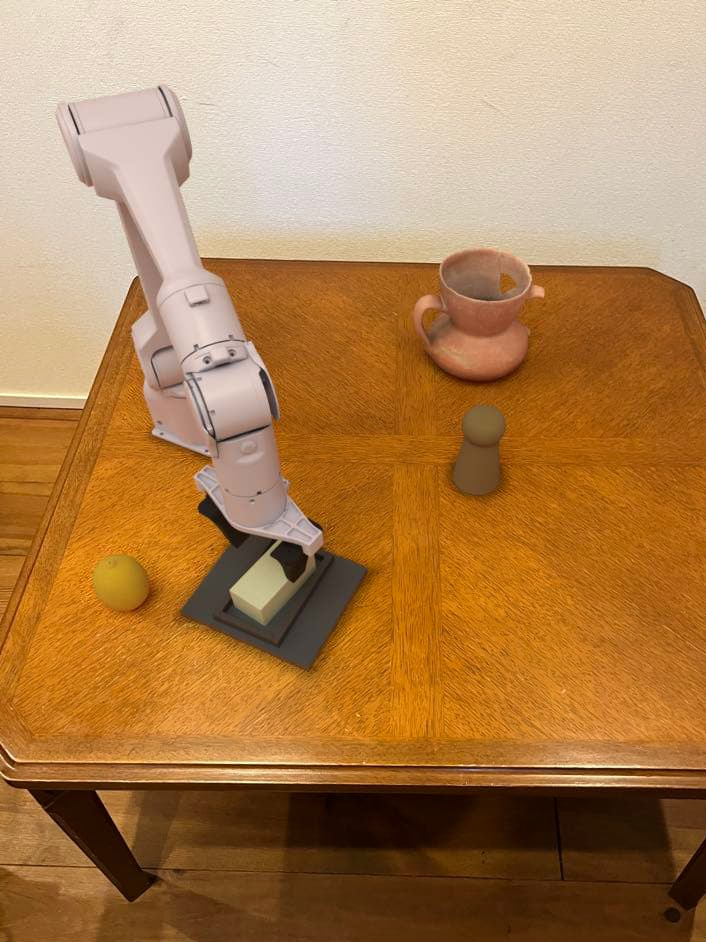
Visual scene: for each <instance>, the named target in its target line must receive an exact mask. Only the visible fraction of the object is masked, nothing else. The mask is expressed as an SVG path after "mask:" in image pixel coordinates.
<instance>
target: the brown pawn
mask: <svg viewBox="0 0 706 942" xmlns="http://www.w3.org/2000/svg"><path fill="white" fill-rule="evenodd" d="M506 430H507V421H506V418H505V416H504V414H503V412H502V411H500V409H498V408H497V407H495V406H494V405H489V404H477V405H475V406H472V407H470V409H468V410H467V411H466V412H465V413H464V416H463V418H462V420H461V431H462V434H463V440H462V443H461V446H460V449H459V452H458V455H457V459H456V462H455V466H454V468H453V472H452V481H453V483H454V485H455V486H456V487H457V489H459V490H460V491H462V492H463V493H465V494H468V495H472V496H484V495H488V494H490V493H492V492H494V491H495V490H496V489H497V488H498V486H499V484H500V481H501V480H500V479H501V478H500V477H501V476H500V475H501V473H500V470H501V469H500V466H501V465H500V463H501V462H500V441H501V440H502V439H503V437H504V435H505V433H506Z"/></svg>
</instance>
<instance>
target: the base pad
mask: <svg viewBox="0 0 706 942" xmlns="http://www.w3.org/2000/svg"><path fill="white" fill-rule="evenodd" d="M277 541H278V540H277V539H273V538H268V537H263V536H259V535H254V534H250V537H249V538H248V539H247V540H246V541H245V542H244V543H243V544H242V545H241V546H240V547H239V548H238V549H237V548H235V547H234V546H232V545H231V544H230V543H229V545H228V546H227V547H226V549H225V550H224V552H223V553H222V554H221V555H220V557H219V558H218V560H217V561H216V562H215V564H214V565H213V567H212V568H211V569H210V571H209V572H208V573H207V574H206V576H205V577H204V578H203V580H202V581H201V582H200V584H199V585H198V587H197V588H196V589H195V591H193V593H192V595H191V596H190V598H189V599H188V600H187V601H186V603H185V604H184V606H182V608H181V610H180V611H179V612H180V613H181V616H182V617H183V618H187V619H189V620H191V621H194V622H196V623H198V624H200V625H203V626H204V627H206V628H209V629H211V630H214V631H215V632H218V633H221V634H223V635H225V636H227V637H230V638H231V639H234V640H236V641H239V642H241V643H243V644H246V645H247V646H249V647H251V648H254V649H256V650H259V651H261V652H263V653H265V654H268V655H270V656H272V657H274V658H276V659H279V660H281V661H282V662H285V663H288V664H290V665H292V666H294V667H296V668H299V669H301V670H303V671H306V672H307V673H309V672H310V671H311V669H312V667H313V666H314V664H315V662H316V660H317V659H318V657H319V656H320V654H321V652H322V651H323V648H324V647H325V645H326V644H327V642H328V640H329V638H330V637H331V635H332V633H333V632H334V630H335V628H336V626H337V625H338V624H339V621H340V620H341V618H342V616H343V615H344V613H345V612H346V610H347V608H348V606H349V605H350V603H351V601H352V599H353V598H354V596H355V595H356V593H357V591H358V589H359V588H360V587H361V584H362V583H363V581H364V579H365V578H366V576H367V574H368V572H369V571H368V567H367V566H365V565H362V564H359V563H357V562H354V561H352V560H349V559H347V558H345V557H342V556H339V555H337V554H335V553H332V552H330V551H327V550H324V549H323V548H321V547H320V548H319V549H318V550H317V552H316V553H315V554H314V558H315V565H316V571H315V572H314V573H313V574H312V575H311V576H310V577H309V579H308V580H307V581H306V582H305V583H304V584H303V585H302V586H301V587H300V588H299V590H298V591H297V592H296V593H295V594H294V595H293V596H292V597H291V598H290V600H289V601H288V602H287V603H286V604H285V605H284V606H283V607H282V608H281V609H280V611H279V612H278V613H277V614H276V615H275V616H274V617H273V618H272V619H271V620H270V622H269V623H268V624H267V625H266V626H264V625H262V624H260V623H259V622H257V621H256V620H254V619H253V618H251V617H250V616H248V615H247V614H245V613H244V612H242V611H241V610H239V609H237V608H236V607H235V606H234V603H233V600H232V597H231V594H230V591H229V590H230V589H231V588H232V587H233V586H234V585H235V584H236V583H237V582H238V581H239V580H240V579H241V578H242V577H243V576H244V575H245V574H246V572H247V571H248V570H249V569H250V568H251V567H252V566H253V565H254V564H255V563H256V562H257V561H258V560H259V559H260V558H261V557H262V556H263V555H264V554H265V553H266V552H267V551H268V550H269V549H270V548H271V547H272V546H273V545H274V544H275V543H276V542H277Z"/></svg>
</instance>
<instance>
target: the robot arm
mask: <svg viewBox="0 0 706 942" xmlns="http://www.w3.org/2000/svg"><path fill="white" fill-rule="evenodd" d="M54 113H55V114H54V115H55V119H56V121H57V124H58V128H59V130H60V134H61V137H62V139H63V141H64V142H63V143H64V145H65V147H66V150H67V153H68V156H69V158H70V161H71V163H72V166H73V169H74V171H75V174H76V176H77V179H78V181H79V182H80V183H82V184H84V185H85V186H86V187H87V188H92V187H93V189H94V192H95V194H96V196H97V197H99V198H103V199H107V200H111V201H114V202H115V206H116V209H117V213H118V216H119V219H120V221H121V225H122V228H123V231H124V234H125V238H126V241H127V245H128V247H129V250H130V254H131V257H132V260H133V263H134V266H135V269H136V273H137V276H138V279H139V282H140V285H141V289H142V292H143V295H144V298H145V302H146V305H147V308H148V309H147V310H146V311H145V312H144V313H143V314H142V315H141V316H140V317H139V318H138V319H137V320H136V321H135V322H134V323H133V324H132V325H131V332H130V336H131V338H132V341H133V347H134V350H135V353H136V354H135V355H136V357H137V359H138V362H139V365H140V368H141V370H142V373H143V375H144V381H143V388H142V392H143V393H142V394H143V397H144V400H145V403H146V406H147V408H148V411H149V415H150V417H151V419H152V423H153V425H154V428H152V431H151V434H152V436H153V437H156V438H159V439H161V440H164V441H165V442H166V441H167V442H170V443H172V444H173V445H177V446H179V447H182V448H185V449H188V450H190V451H193V452H195V453H198V454H201V455H203V456H206V457H208V458H210V459H211V461H212V462H211V463H212V465H213V466H211V465H209V464H205V466H204V467H203V468H201V469H200V470H199V471H198V472H197V473H196V474H195V475H193V480H194V483H195V486H196V489H197V491H199V492H201V493H202V494H205V495H204V498H203V500H201V501H200V502H199V503H198V504H197V511H198V513H199V514H200V515H202V516H204V517H205V518H207V519H208V520H210V521H211V522H212V523H213V524H214V525H215V526H216V527H217V528H218V530H219V531H220V532H221V533H222V534H223V536H224V537H225V538H226V540H227V541H228V543H229V545H230V544H231V545H232V546H234V547H235V548H237V549H238V548H239V547H240V546H241V545H242V544H243V543H244V542H245V541H246V540H247V539H248V538H249V537H250V534H254V535H259V536H263V537H268V538H273V539H277V540H282V542H281V543H280V544H279V545H278V546H277V547H276V548H275V549H274V550H273V551H272V552H271V553H270V556H271V557H272V558H274V559H276V560H277V561H278V562H279V563H280V564H281V566H282V568H283V571H284V574H285V576H286V578H287V579H288V580H289V581H290V582H292V583H295V582H296V581H297V580H298V578H299V577H300V576H301V575H302V574H303V573H304V572H305V570H306V565H307V561H308V558H309V556H310V557H312V556H313V555H314V554H315V553H316V552H317V550H318V549H319V548H320V549H321V547H322V546H323V545H324V544H325V543H324V541H325V540H324V529H323V526H322V525H321V524H320V523H318V522H317V521H315V520H313V519H311V518H310V517H306V514H304V512H303V511H302V510H301V509H300V507H299V506H298V505H297V504H296V503H295V501H294V500H293V499H292V498H291V497H290V495H289V493H287V491H289V489H290V487H291V485H290V481H289V480H288V479H286V478H285V477H283V474H282V469H281V463H280V457H279V452H278V447H277V441H276V436H275V429H274V424H273V419H274V420H275V421H277V422H278V421H280V418H281V413H280V406H279V400H278V399H279V398H278V395H277V391H276V388H275V386H274V382H273V380H272V377H271V374H270V373H269V370H268V368H267V366H266V364H265V362H264V361H263V359H262V357H261V355H260V354H259V353H258V352H257V351H258V350H257V349H256V347H255V345H254V343H253V341H252V340H248V339H247V337H246V334H245V332H244V328H243V327H242V324H241V321H240V318H239V316H238V314H237V311H236V309H235V307H234V306H235V305H234V303H233V301H232V299H231V296H230V293H229V291H228V288H227V286H226V284H225V283H226V282H225V281H224V280H223V278H221V277H220V276H219V275H217V274H214V273H213V272H211V271H209V270H207V269H205V267H204V265H203V263H202V259H201V256H200V253H199V249H198V246H197V242H196V239H195V236H194V233H193V229H192V226H191V222H190V219H189V216H188V211H187V208H186V205H185V202H184V199H183V196H182V192H181V187H182V186H183V184H185V183H186V181H187V180H188V179H189V178H190V176H191V173H190V162H191V160H192V158H193V146H192V140H191V135H190V132H189V127H188V124H187V121H186V117H185V114H184V111H183V108H182V106H181V103H180V100H179V99H178V96H177V95H176V92H175V91H174V90H172V89H171V88H169V87H168V85H167V84H166V83H160V84H158V85H157V87H156V86H155V87H150V88H145V89H138V90H134V91H128V92H123V93H117V94H111V95H105V96H100V97H95V98H89V99H86V100H85V99H84V100H79V101H73V102H68V103H66V102H65V101H62V102H58V104H57V108H56V109H55V111H54ZM272 418H273V419H272Z"/></svg>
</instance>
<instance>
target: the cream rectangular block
mask: <svg viewBox="0 0 706 942" xmlns="http://www.w3.org/2000/svg"><path fill="white" fill-rule="evenodd" d="M281 542H282V540H278V541H277V542H276V543H275V544H274V545H273V546H272V547H271V548H270V549H269V550H268V551H267V552H266V553H265V554H264V555H263V556H262V557H261V558H260V559H259V560H258V561H257V562H256V563H255V564H254V565H253V566H252V567H251V568H250V569H249V570H248V571H247V572H246V574H245V575H244V576H243V577H242V578H241V579H240V580H239V581H238V582H237V583H236V584H235V585H234V586H233V587H232V588H231V589H230V590H229V591H230V594H231V597H232V600H233V603H234V606H235V607H236V608H237V609H239V610H241V611H242V612H244V613H245V614H247V615H248V616H250V617H251V618H253V619H254V620H256V621H257V622H259V623H260V624H262V625H264V626H266V625H267V624H268V623H269V622H270V620H271V619H272V618H273V617H274V616H275V615H276V614H277V613H278V612H279V611H280V609H281V608H282V607H283V606H284V605H285V604H286V603H287V602H288V601H289V600H290V598H291V597H292V596H293V595H294V594H295V593H296V592H297V591H298V590H299V588H300V587H301V586H302V585H303V584H304V583H305V582H306V581H307V580H308V579H309V577H310V576H311V575H312V574H313V573H314V572H315V571H316V565H315V558H314V555H313V556H312V557H310V556H309V558H308V561H307V565H306V570H305V572H304V573H303V574H302V575H301V576H300V577H299V578H298V580H297V581H296V582H295V583H292V582H290V581H289V580H288V579H287V578H286V576H285V574H284V571H283V568H282V566H281V564H280V563H279V562H278V561H277V560H276V559H274V558H272V557H271V556H270V553H271V552H272V551H273V550H274V549H275V548H276V547H277V546H278V545H279V544H280V543H281Z"/></svg>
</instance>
